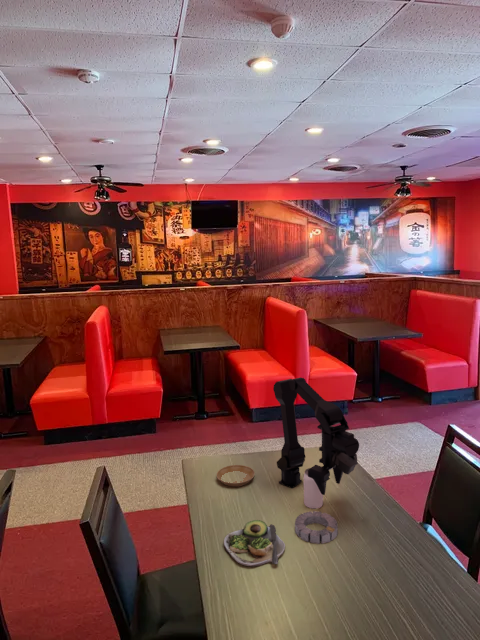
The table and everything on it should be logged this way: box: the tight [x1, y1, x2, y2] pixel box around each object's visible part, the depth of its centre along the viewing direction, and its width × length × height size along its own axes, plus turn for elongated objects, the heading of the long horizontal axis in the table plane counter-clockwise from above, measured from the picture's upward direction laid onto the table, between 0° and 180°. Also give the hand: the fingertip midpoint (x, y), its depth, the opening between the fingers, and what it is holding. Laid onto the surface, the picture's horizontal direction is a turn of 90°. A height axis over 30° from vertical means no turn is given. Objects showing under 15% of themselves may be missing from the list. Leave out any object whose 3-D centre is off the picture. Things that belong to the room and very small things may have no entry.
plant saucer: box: [216, 464, 256, 487], centre depth 179 cm, size 15×15×3 cm
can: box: [303, 467, 324, 510], centre depth 159 cm, size 6×6×12 cm
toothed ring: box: [294, 510, 338, 545], centre depth 145 cm, size 13×13×3 cm
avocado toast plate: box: [223, 519, 286, 567], centre depth 137 cm, size 19×18×5 cm
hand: (330, 488), depth 154 cm, fingers open, 9 cm apart
